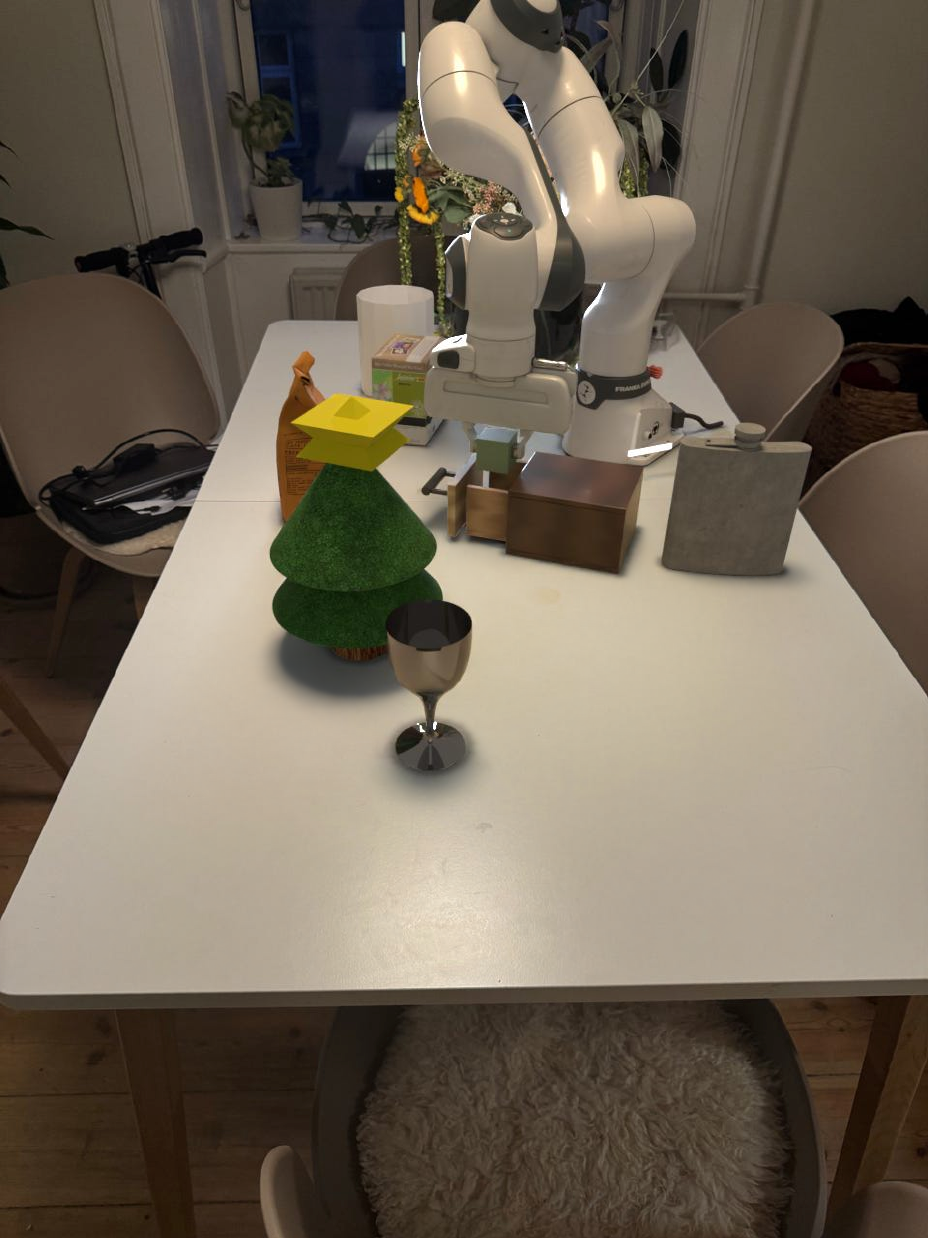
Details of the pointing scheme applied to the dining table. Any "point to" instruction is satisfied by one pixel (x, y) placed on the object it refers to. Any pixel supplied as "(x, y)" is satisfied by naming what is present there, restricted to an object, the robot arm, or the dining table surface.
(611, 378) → the robot arm
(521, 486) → the cabinet
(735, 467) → the hip flask
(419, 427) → the tea box
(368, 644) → the decorative tree
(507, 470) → the block
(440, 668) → the wine glass
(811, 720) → the dining table surface
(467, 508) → the drawer
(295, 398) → the coffee package
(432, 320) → the container
